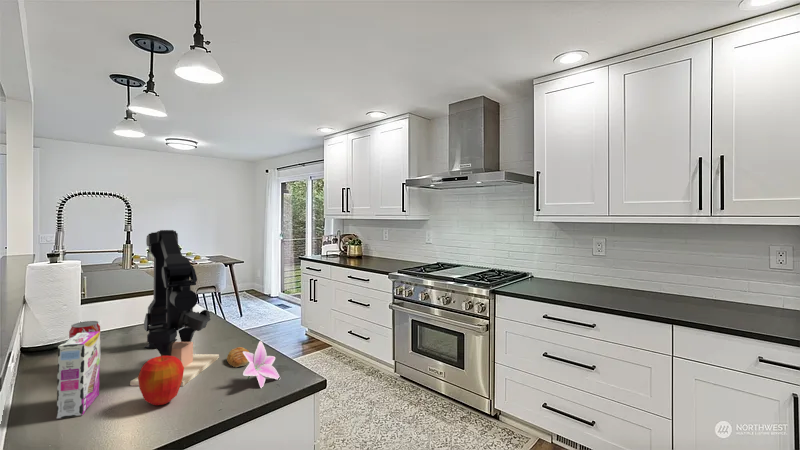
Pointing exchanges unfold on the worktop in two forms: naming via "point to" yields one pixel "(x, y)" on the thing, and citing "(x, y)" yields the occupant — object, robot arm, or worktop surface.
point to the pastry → (237, 357)
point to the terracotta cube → (183, 352)
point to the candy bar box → (78, 374)
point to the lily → (260, 365)
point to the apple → (160, 379)
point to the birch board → (191, 367)
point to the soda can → (84, 328)
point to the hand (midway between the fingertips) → (177, 356)
